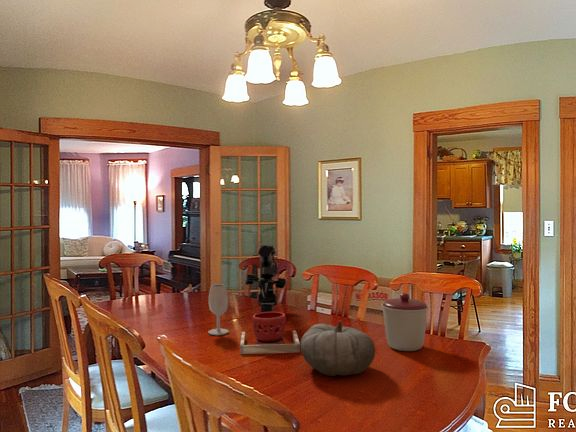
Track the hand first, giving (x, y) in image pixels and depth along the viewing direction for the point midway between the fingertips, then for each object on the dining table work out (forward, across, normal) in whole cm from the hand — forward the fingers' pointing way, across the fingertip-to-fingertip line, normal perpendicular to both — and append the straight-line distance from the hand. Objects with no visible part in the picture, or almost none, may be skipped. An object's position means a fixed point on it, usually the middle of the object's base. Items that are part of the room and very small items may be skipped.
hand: (264, 297), depth 204 cm
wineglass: (+18, -19, +4) cm, 27 cm away
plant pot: (+28, 0, -14) cm, 31 cm away
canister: (+31, +50, -31) cm, 67 cm away
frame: (+28, 0, -16) cm, 32 cm away
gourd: (+45, +18, -42) cm, 64 cm away
